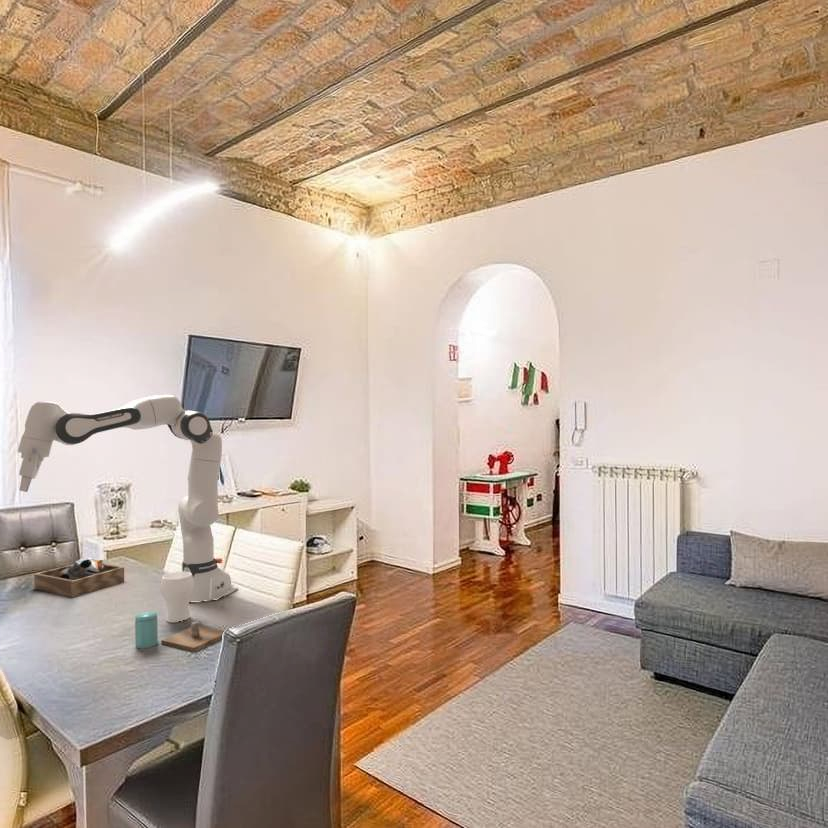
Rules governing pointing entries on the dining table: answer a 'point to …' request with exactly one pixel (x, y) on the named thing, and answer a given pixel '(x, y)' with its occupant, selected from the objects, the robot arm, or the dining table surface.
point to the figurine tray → (78, 581)
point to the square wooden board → (193, 637)
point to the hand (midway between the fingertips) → (23, 491)
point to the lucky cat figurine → (82, 569)
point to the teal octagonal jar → (146, 630)
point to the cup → (177, 595)
